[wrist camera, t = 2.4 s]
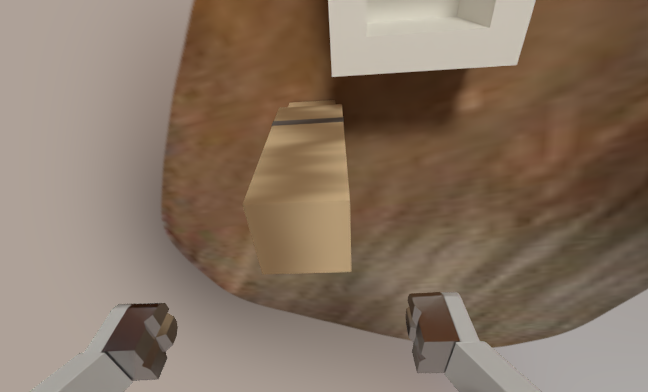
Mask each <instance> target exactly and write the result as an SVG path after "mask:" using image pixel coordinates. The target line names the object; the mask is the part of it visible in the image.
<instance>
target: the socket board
mask: <svg viewBox="0 0 648 392" xmlns="http://www.w3.org/2000/svg"><path fill="white" fill-rule="evenodd" d="M535 1H536V0H328V8H329V28H330V48H331V68H332V77H339V76H354V75H370V74H385V73H400V72H416V71H431V70H447V69H462V68H478V67H493V66H508V65H517V62H518V59H519V56H520V52H521V49H522V45H523V42H524V39H525V35H526V32H527V28H528V25H529V21H530V18H531V15H532V11H533V8H534V4H535Z"/></svg>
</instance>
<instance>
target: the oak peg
mask: <svg viewBox="0 0 648 392" xmlns="http://www.w3.org/2000/svg"><path fill="white" fill-rule="evenodd" d="M243 209H244V212H245V216H246V219H247V222H248V226H249V229H250V233H251V236H252V240H253V243H254V247H255V250H256V254H257V257H258V260H259V264H260V267H261V271H262V274H295V273H328V272H351V231H350V196H349V184H348V172H347V160H346V148H345V136H344V117H343V112H342V104H336V102H335V100H327V101H310V102H294V103H289V106H288V107H286V108H279V110H278V112H277V115H276V117H275V120H274V121H273V123H272V128H271V131H270V133H269V136H268V139H267V141H266V144H265V147H264V149H263V152H262V155H261V157H260V160H259V162H258V165H257V168H256V170H255V173H254V176H253V178H252V181H251V184H250V186H249V189H248V192H247V194H246V197H245V200H244V202H243Z"/></svg>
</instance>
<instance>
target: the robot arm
mask: <svg viewBox="0 0 648 392" xmlns="http://www.w3.org/2000/svg"><path fill="white" fill-rule="evenodd" d="M408 304H409V307H408V308H407V309H406V325H407V331H408V336H409V338H410V339H411V340H412V341H413V342H414V343H413V349H412V353H413V357H414V362H415V366H416V370H417V373H445V375H446V377H447V378H448V379H449V380H450V382H451V383H452V384H453V385H454V387H455V388H456V389H457V390H458V391H459V392H542V391H541V390H539V389H538V388H537V387H536V386H535V385H534V384H532V383H531V382H530V381H529V380H528V379H527V378H526V377H525V376H524V375H522V374H521V373H520V372H519V371H518V370H517V369H516V368H514V367H513V366H512V365H511V364H510V363H509V362H508V361H506V360H505V359H504V358H503V357H502V356H501V355H500V354H499V353H497V352H496V351H495V350H494V349H493V348H492V347H491V346H489V345H488V344H487V343H486V342H485V341H479V338H478V336H477V334H476V331H475V329H474V327H473V324H472V322H471V320H470V317H469V315H468V313H467V310H466V308H465V306H464V303H463V301H462V299H461V296H460V295H459V294H458V293H457V292H443V293H440V292H433V293H414V294H409V296H408ZM168 310H169V308H168V307H167V305H166V304H165V303H150V304H149V303H148V304H118V305H117V306H115V307H114V308H113V309H112V311H111V312H110V314H109V315H108V317H107V318H106V320H105V321H104V323H103V324H102V326H101V328H100V329H99V330H98V332H97V334H96V335H95V337H94V338H93V340H92V341H91V343H90V344H89V346H88V347H87V349H86V350H85V352H84V353H79V354H78V355H76V356H75V357H74V358H73V359H71V360H70V361H69V362H67V363H66V364H65V365H63V366H62V367H61V368H59V369H58V370H57V371H56V372H55V373H53V374H52V375H50V376H49V377H48V378H47V379H45V380H44V381H43V382H41V383H40V384H39V385H37V386H36V387H35V388H34V389H32V390H31V391H30V392H124V391H125V390H126V389H127V388H128V387H129V386H130V385H131V384H132V381H137V380H155V379H159V377H160V374H161V372H162V369H163V367H164V365H165V362H166V360H167V356H166V351H167V350H168V349H169V348H170V347H171V346H172V345H173V343H174V341H175V338H176V335H177V321H176V319H175V318H174V316H172V315H170V314H168V313H167V312H168Z"/></svg>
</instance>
